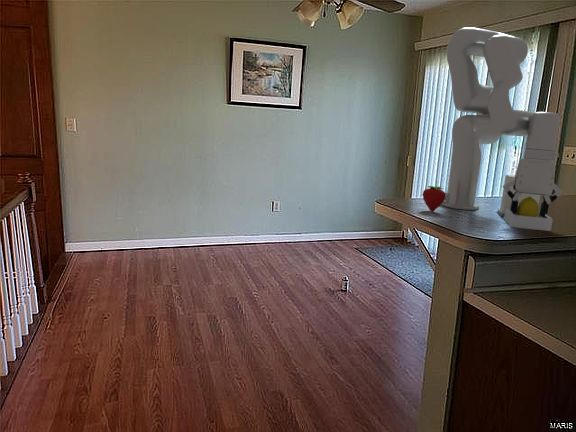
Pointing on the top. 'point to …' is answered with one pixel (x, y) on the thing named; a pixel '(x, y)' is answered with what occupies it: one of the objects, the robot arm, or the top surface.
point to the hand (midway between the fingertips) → (528, 214)
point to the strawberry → (433, 197)
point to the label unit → (507, 200)
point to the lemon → (528, 207)
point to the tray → (528, 221)
